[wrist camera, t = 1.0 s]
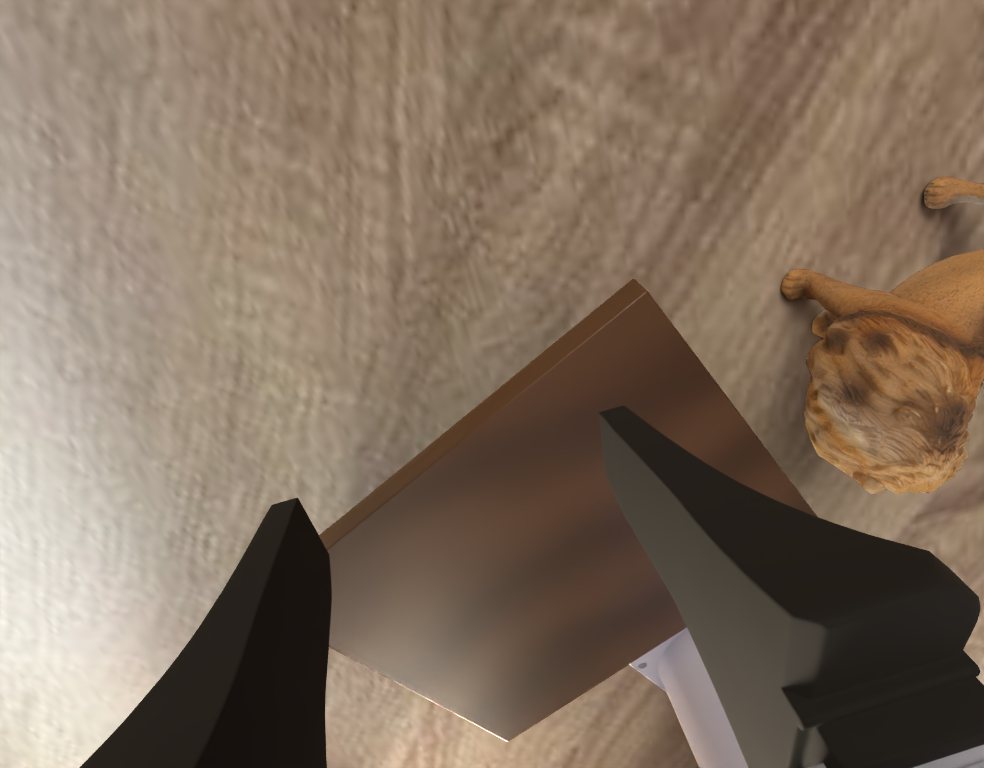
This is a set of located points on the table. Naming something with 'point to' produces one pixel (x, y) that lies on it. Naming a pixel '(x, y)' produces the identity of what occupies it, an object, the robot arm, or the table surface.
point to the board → (533, 528)
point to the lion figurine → (898, 366)
